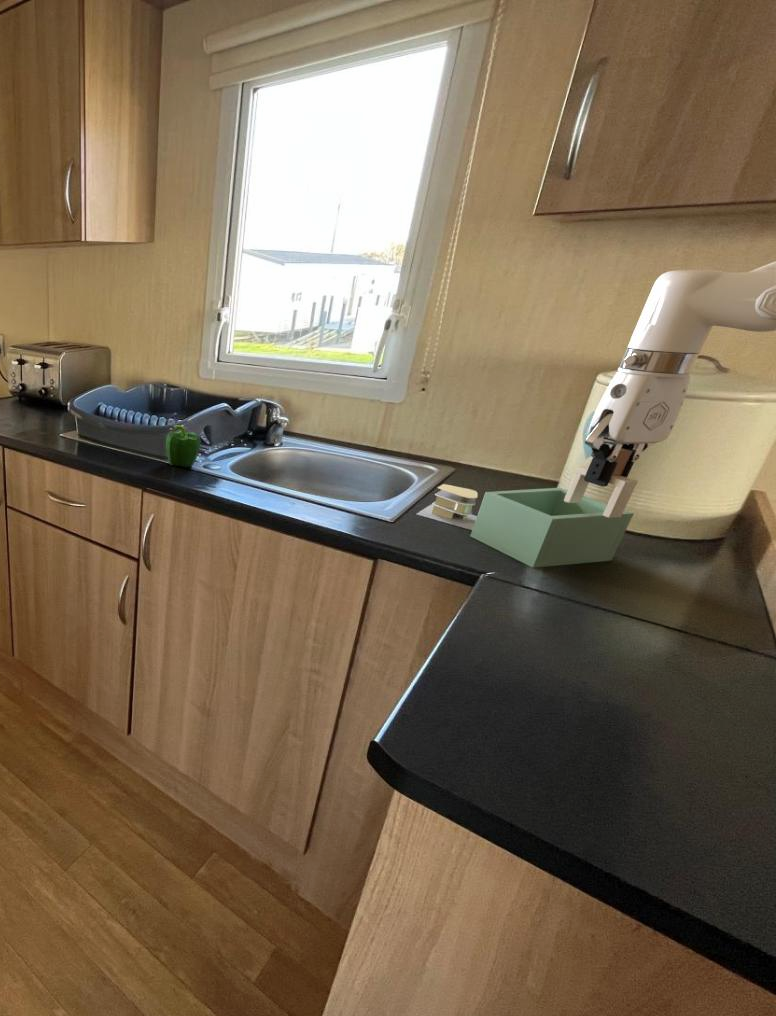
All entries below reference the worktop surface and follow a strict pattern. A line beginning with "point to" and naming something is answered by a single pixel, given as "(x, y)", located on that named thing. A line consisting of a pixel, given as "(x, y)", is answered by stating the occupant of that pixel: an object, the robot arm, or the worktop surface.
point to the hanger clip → (622, 483)
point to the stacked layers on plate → (452, 506)
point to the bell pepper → (182, 447)
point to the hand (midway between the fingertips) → (603, 482)
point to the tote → (548, 527)
